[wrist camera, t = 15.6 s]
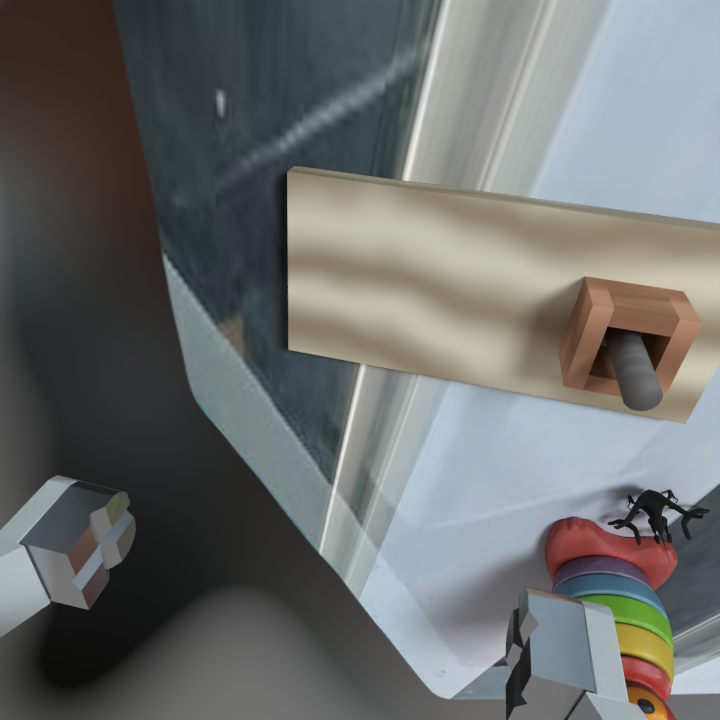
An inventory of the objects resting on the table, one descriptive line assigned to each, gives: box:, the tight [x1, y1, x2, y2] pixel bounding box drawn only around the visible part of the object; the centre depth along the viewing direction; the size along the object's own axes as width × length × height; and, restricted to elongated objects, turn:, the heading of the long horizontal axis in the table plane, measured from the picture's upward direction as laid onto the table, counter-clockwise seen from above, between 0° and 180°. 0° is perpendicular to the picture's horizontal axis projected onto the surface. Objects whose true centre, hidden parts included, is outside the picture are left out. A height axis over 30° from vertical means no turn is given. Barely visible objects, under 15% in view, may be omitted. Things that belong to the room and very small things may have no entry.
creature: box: [608, 489, 710, 563], centre depth 44 cm, size 8×5×8 cm
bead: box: [559, 276, 702, 404], centre depth 34 cm, size 6×6×4 cm
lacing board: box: [287, 166, 720, 424], centre depth 34 cm, size 14×30×10 cm, turn 86°
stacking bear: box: [545, 517, 677, 720], centre depth 44 cm, size 11×10×18 cm
